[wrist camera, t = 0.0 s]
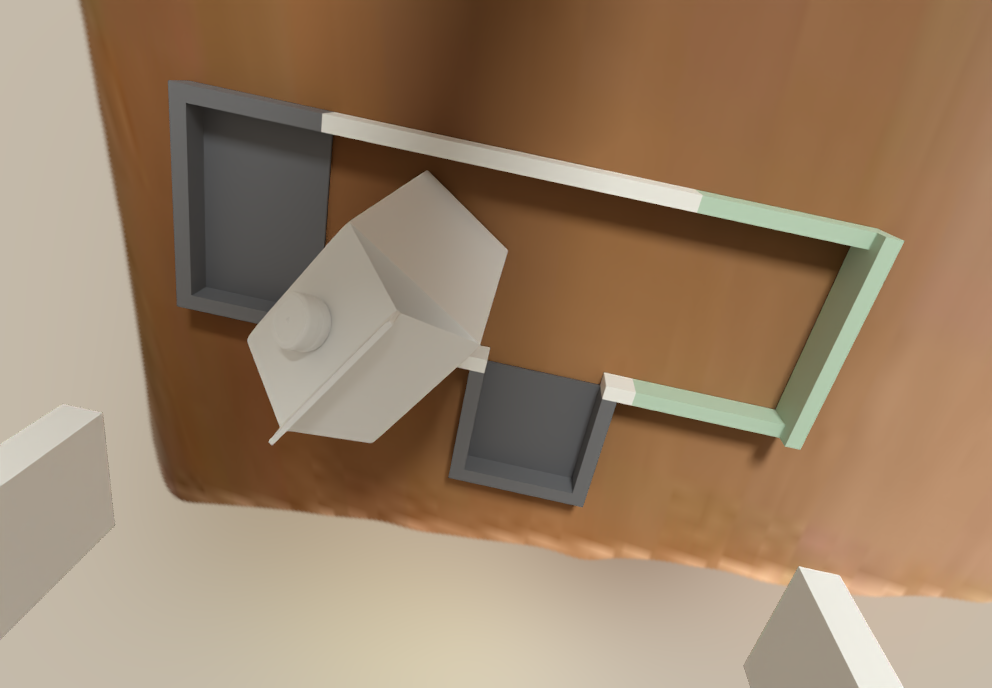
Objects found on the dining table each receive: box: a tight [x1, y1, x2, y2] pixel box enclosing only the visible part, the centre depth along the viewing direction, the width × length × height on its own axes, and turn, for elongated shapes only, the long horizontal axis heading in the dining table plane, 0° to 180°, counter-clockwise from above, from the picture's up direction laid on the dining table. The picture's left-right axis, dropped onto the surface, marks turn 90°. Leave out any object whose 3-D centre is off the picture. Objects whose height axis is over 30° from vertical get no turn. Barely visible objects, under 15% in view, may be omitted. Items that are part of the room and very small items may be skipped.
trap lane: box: [168, 80, 904, 507], centre depth 38 cm, size 23×42×3 cm, turn 79°
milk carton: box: [247, 170, 508, 445], centre depth 29 cm, size 7×7×19 cm
